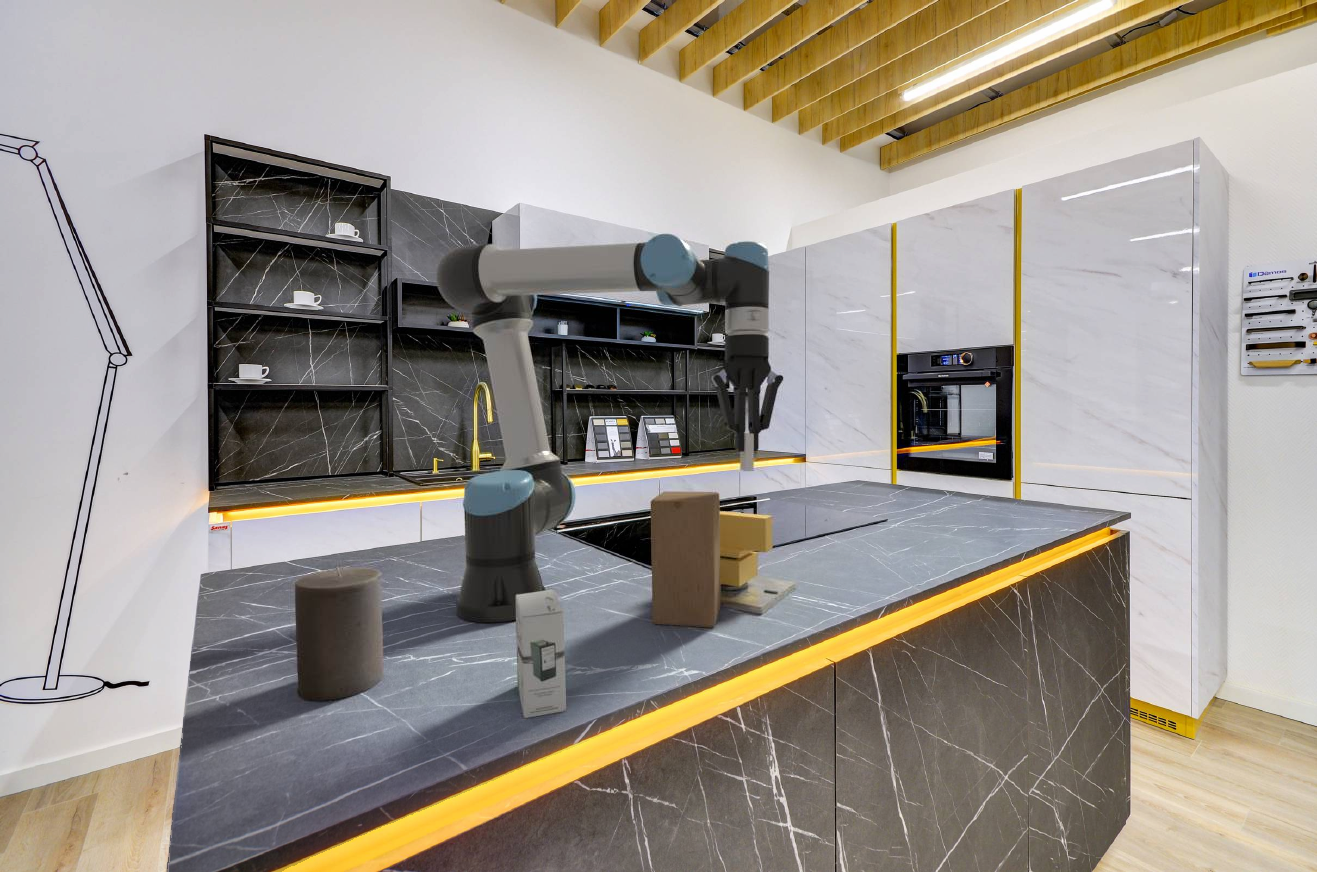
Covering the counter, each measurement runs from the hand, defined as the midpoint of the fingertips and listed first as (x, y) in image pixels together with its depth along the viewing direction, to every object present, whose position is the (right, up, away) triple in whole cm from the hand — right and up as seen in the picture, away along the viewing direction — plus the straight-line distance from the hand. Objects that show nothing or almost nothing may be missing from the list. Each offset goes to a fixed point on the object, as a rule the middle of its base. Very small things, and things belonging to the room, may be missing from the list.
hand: (746, 470), depth 101 cm
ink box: (-30, -25, -32) cm, 51 cm away
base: (-2, -23, +6) cm, 24 cm away
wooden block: (-11, -24, -6) cm, 27 cm away
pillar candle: (-56, -26, -28) cm, 67 cm away
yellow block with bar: (-2, -20, +6) cm, 21 cm away
